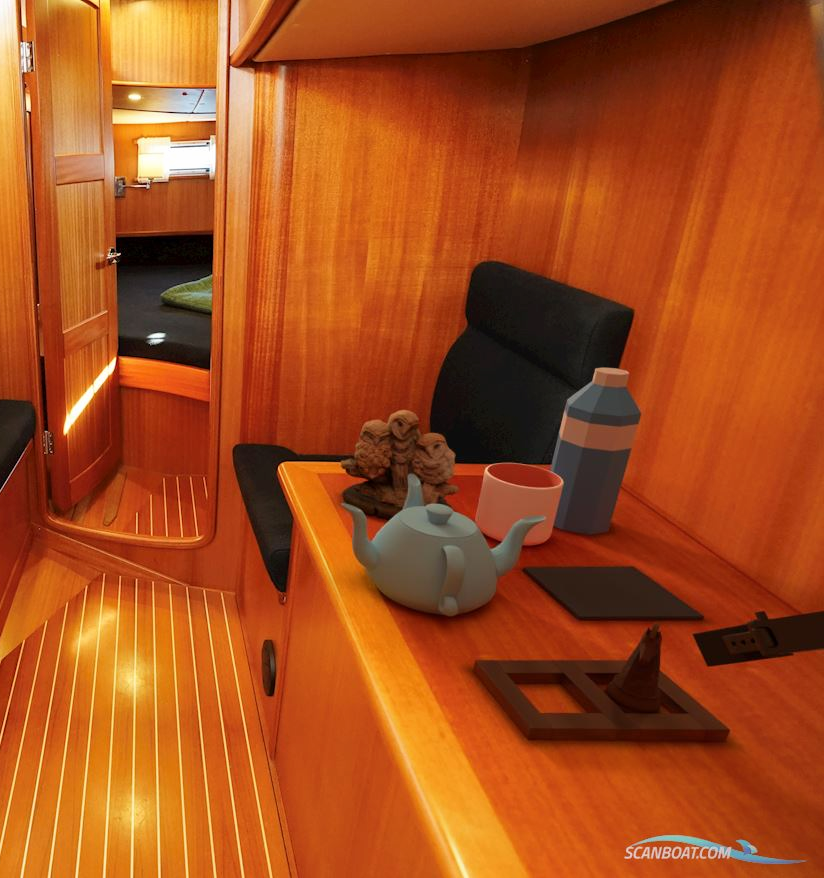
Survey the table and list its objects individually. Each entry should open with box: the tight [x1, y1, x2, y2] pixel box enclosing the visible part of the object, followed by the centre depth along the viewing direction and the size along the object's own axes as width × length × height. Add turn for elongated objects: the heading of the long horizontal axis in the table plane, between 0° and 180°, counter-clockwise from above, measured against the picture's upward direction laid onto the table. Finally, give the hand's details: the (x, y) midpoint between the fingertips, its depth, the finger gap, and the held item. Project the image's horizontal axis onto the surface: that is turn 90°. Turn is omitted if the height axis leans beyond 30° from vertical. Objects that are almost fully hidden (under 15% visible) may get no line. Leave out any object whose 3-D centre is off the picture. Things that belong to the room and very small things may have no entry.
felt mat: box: [522, 566, 705, 621], centre depth 93 cm, size 15×12×1 cm
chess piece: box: [603, 621, 663, 714], centre depth 73 cm, size 5×5×10 cm
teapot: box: [340, 474, 546, 617], centre depth 94 cm, size 17×19×12 cm
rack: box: [472, 659, 731, 742], centre depth 74 cm, size 19×11×2 cm, turn 87°
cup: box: [474, 462, 564, 547], centre depth 108 cm, size 10×10×10 cm
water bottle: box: [549, 367, 642, 536], centre depth 108 cm, size 9×9×25 cm
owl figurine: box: [340, 409, 459, 521], centre depth 117 cm, size 18×12×17 cm, turn 68°
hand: (776, 643), depth 60 cm, fingers open, 13 cm apart
